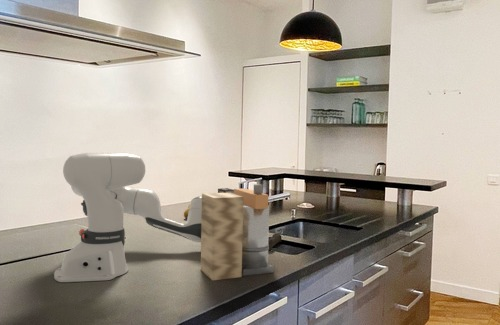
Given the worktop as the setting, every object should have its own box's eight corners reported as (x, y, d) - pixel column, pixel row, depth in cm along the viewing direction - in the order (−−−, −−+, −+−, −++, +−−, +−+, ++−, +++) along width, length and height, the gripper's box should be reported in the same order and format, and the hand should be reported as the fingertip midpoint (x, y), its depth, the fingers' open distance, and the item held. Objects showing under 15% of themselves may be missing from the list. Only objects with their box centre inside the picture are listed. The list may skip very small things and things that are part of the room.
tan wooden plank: (255, 209, 141) (256, 185, 141) (233, 201, 158) (234, 180, 158) (268, 208, 143) (268, 185, 143) (245, 200, 160) (245, 180, 160)
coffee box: (216, 216, 252) (217, 188, 252) (226, 215, 256) (226, 188, 255) (224, 218, 245) (225, 190, 244) (234, 217, 249) (235, 189, 248)
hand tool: (272, 241, 192) (273, 231, 192) (281, 242, 191) (281, 232, 190) (259, 252, 174) (259, 240, 174) (268, 253, 173) (268, 241, 173)
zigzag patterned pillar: (212, 280, 137) (213, 198, 136) (200, 269, 148) (201, 193, 146) (241, 277, 141) (243, 197, 140) (228, 266, 152) (229, 192, 151)
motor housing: (242, 275, 142) (244, 208, 141) (230, 266, 152) (231, 203, 151) (274, 272, 147) (275, 207, 145) (259, 263, 157) (261, 202, 156)
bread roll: (209, 219, 242) (209, 205, 241) (198, 222, 233) (198, 207, 233) (191, 216, 249) (191, 202, 248) (180, 219, 240) (180, 204, 240)
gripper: (253, 215, 175) (266, 201, 164) (204, 217, 167) (215, 204, 155) (250, 200, 178) (263, 186, 166) (202, 202, 169) (212, 188, 158)
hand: (239, 195), depth 161 cm, fingers open, 8 cm apart
